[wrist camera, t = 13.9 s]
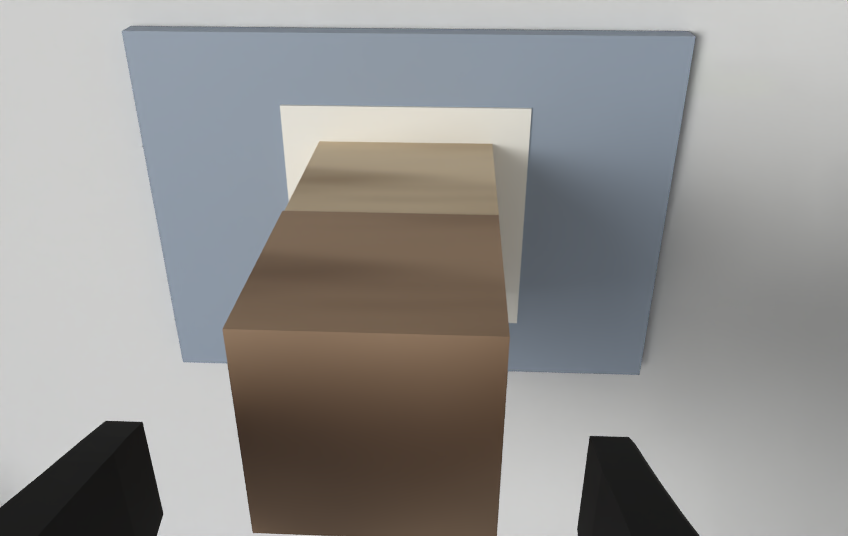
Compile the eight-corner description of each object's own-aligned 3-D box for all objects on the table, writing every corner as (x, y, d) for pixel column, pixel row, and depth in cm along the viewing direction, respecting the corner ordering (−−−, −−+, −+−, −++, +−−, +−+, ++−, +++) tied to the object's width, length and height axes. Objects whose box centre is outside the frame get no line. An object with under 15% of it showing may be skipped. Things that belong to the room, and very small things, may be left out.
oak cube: (485, 293, 22) (490, 391, 18) (329, 290, 22) (300, 385, 18) (492, 143, 20) (499, 217, 16) (319, 141, 20) (282, 213, 16)
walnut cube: (489, 389, 18) (496, 541, 14) (299, 384, 18) (252, 533, 14) (498, 215, 16) (510, 336, 12) (282, 210, 16) (222, 328, 12)
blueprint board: (635, 363, 24) (640, 376, 23) (189, 350, 24) (181, 363, 24) (689, 31, 19) (696, 37, 18) (131, 26, 19) (120, 31, 19)
